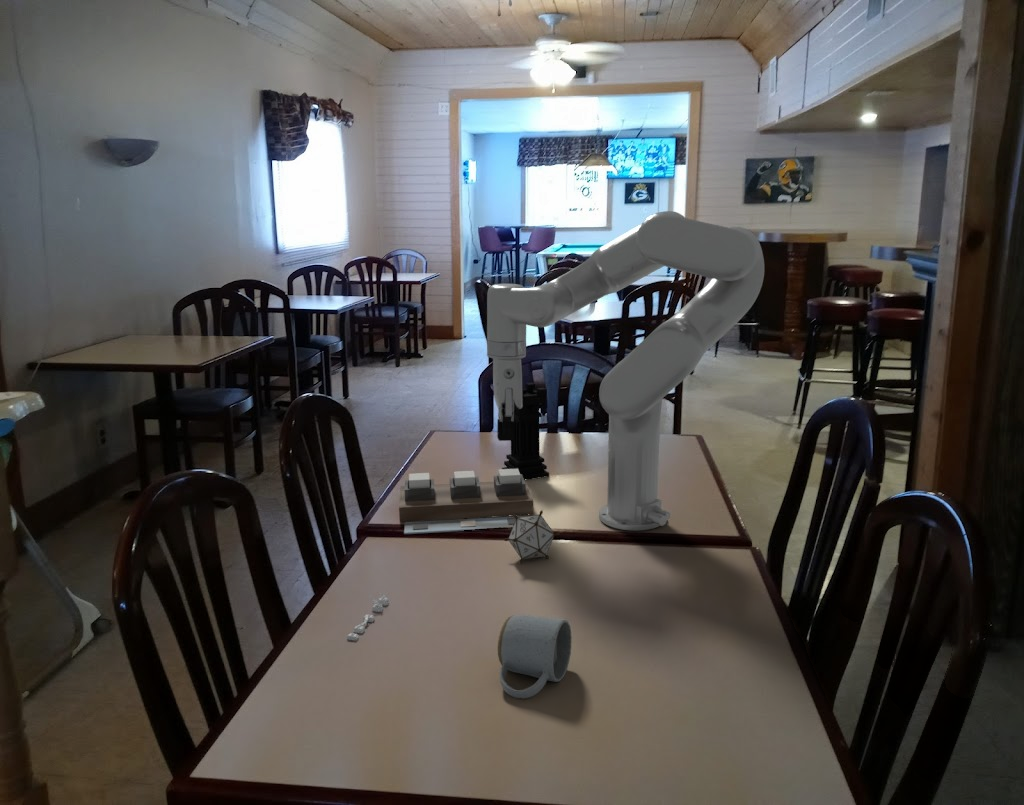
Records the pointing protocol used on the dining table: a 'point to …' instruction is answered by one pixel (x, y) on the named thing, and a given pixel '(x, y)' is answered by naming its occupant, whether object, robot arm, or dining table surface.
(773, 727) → the dining table surface
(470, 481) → the button middle
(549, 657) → the ceramic mug
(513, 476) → the button
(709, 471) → the dining table surface
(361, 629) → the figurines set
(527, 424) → the chess piece
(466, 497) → the board
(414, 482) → the button
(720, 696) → the dining table surface
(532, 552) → the game die
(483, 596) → the dining table surface
